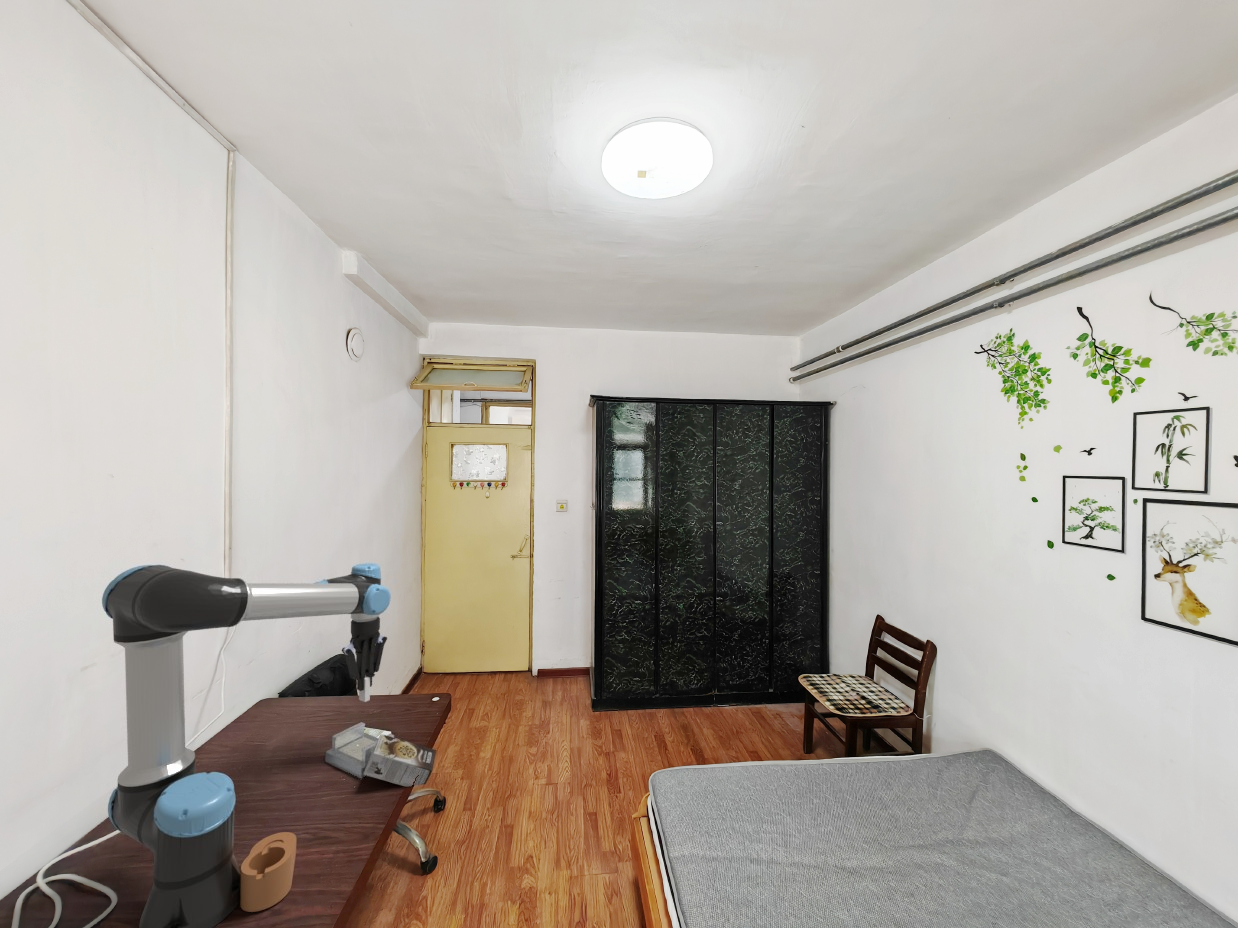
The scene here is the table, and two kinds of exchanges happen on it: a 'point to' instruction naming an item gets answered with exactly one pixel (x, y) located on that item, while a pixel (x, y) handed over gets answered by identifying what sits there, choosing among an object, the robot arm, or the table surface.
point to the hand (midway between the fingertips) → (364, 699)
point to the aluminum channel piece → (352, 750)
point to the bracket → (268, 872)
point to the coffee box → (400, 762)
